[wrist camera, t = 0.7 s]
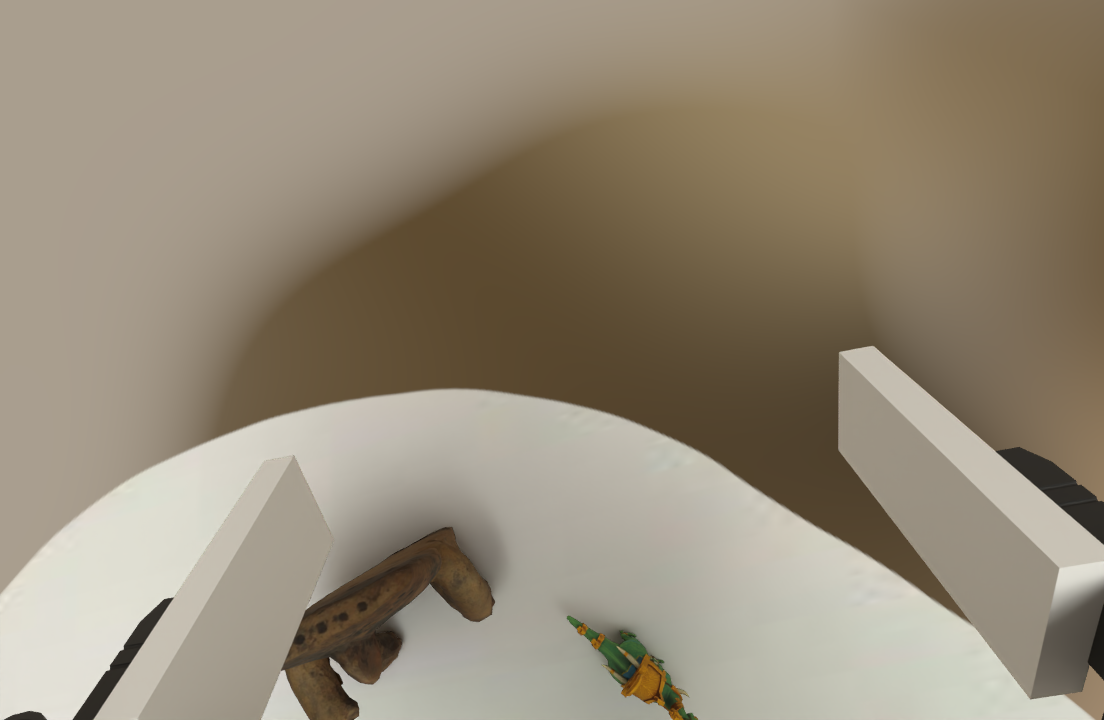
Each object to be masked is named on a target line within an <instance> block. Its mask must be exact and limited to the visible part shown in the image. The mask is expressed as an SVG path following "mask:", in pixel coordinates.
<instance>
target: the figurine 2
mask: <svg viewBox="0 0 1104 720" xmlns="http://www.w3.org/2000/svg"><path fill="white" fill-rule="evenodd" d="M567 619H568V620H569V622H570V623H571V624H572V625H573V626H574V627H575V628H576V629H577V631H578V633H579V634H580V635H584V636H585V637H586V638H587V639H588V640H589V641H590V642H591V643H592V646H593V647H594V648H595V649H598V650H599V651H600V652H601V653H602V654H603V655H604V656H605V657H606V659H607V660H608V666H607V665H602V666H603V667H605V668H606V669H607V670H608V671H609V672H610V674H611V675H612V676H613V678H614V679H615V680H616V681H617V682H618V683H619V684H622V685H621V687H623V690H622V692H621V694H622V695H624V696H625V697H627V696H631V695H632V694H633V695H635V696H636V697H638V698H640V699H641V700H642V701H644V702H645V703H647V704H650V703H652V702H656V703H658V705H661V706H663V707H664V708H665V709H667V710H668V711H669V715H670V717H671V718H672V719H673V720H698V718H697V717H695V716H694V715H693V713H687V714H686V712H685V710H684V706H683V704H682V700H683V699H682V697H681V695H680V694H684V695H686V696H688V694H687V693H686V692H685V691H684V690H681V689H678V688H676V687H675V686H674V685H672V683H671V678H670V675H669V674H668V673H667V672H666V671H665V670H663V668H662V666H661V665H660V664H659V662H660V663H664V661H663V660H657V659H656V658H655V657H653V656H652V655H650V656H649V655H648V653H647V651H646V649H645V647H644V646H643V645H642V644H641V643H640V642H639V641H638V640H637V639H635V638H633V637H636V635H635V634H632V633H625V632H623V631H622V630H621V631H620V633H621V637H622V638H623V639H624V642H622V643H621V644H617V643H614V642H612V641H610V640H609V639H607V638H606V637H605V635H603V634H601V633H600V634H599V633H597V632H595V631H593V630H591V629H590V628H588V627H587V625H585V624H584V623H580V622H579V621H577V620H576V619H574V618H572V617H571V616H567ZM631 636H633V637H631ZM688 697H689V696H688Z"/></svg>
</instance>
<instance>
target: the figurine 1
mask: <svg viewBox="0 0 1104 720" xmlns="http://www.w3.org/2000/svg"><path fill="white" fill-rule="evenodd" d="M429 583H430V584H431V585H432V587H433V588H434V589H435V590H436V591H437V592H438V593H439V594H440V595H441V596H442V597H443V598H444V599H445V601H446V602H447V603H448V604H449V605H450V606H451V607H453V608H454V609H456V610H457V611H459V612H460V613H461V614H462V615H463V617H465V618H467V619H468V620H470V621H474V622H480V621H482V620H483V619H485V618H487V617H488V616H490V615H492V607H493V605H494V604H495V600H494V598H493V597H492V595H491V589H490V587H489V585H488V583H487V581H485V580H483V578H482V577H481V576H480V575H479V574H478V572H477V570H476V569H475V567H474V566H473V564H472V563H471V561H470V560H469V559H468V558H467V557H466V556H465V555H464V554H463V553H462V552H461V551H460V550H459V548H458V545H457V543H456V541H455V534H454V532H453V529H452V527H448V528H447V527H445V528H442V529H440V530H438V531H435V532H433V533H431V534H429V535H427V536H426V537H424V538H422V539H420V540H419V541H417V542H415V543H413V544H412V545H410V546H408V547H406V548H404V549H402V550H400V551H398V552H396V553H394V554H393V555H391V556H390V557H388V558H387V559H385V560H384V561H383V562H381V563H380V564H378V565H377V566H375V567H374V568H372V569H370V570H368V571H367V572H365V573H364V574H362V575H360V576H358V577H357V578H355V579H353V580H352V581H350V582H348V583H347V584H345V585H343V586H341V587H340V588H338V589H337V590H335V591H334V592H332V593H330V594H329V595H327V596H325V597H324V598H323V599H321V600H320V601H318V602H317V603H315V604H313V605H312V606H311V607H309V608H308V609H307V610H305V613H304V615H303V618H302V620H301V623H300V625H299V627H298V630H297V632H296V635H295V637H294V640H293V642H292V645H291V647H290V649H289V652H288V654H287V657H286V659H285V662H284V664H283V667H282V669H281V671H282V670H285V672H286V675H287V679H288V681H289V683H290V686H291V689H292V690H293V692H294V694H295V696H296V697H297V699H298V701H299V702H300V704H301V706H302V708H303V709H304V711H305V713H306V714H307V716H308V718H309V719H310V720H354V719H355V718H357V717H358V716H359V707H358V703H357V702H356V701H355V700H353V699H351V698H350V697H349V696H348V695H347V694H346V692H345V691H344V689H343V688H342V686H341V685H342V684H343V681H342V679H341V677H340V675H339V674H338V673H336V672H335V671H334V670H333V668H332V667H331V666H330V659H329V657H331V658H332V659H333V660H335V661H336V662H338V663H339V664H340V666H341V667H342V668H343V669H344V671H345V672H346V673H347V674H348V675H349V676H351V677H352V678H354V679H355V680H357V681H358V682H360V683H364V684H374V683H375V682H376V681H377V680H378V679H379V677H380V674H381V672H383V671H384V670H385V669H386V668H387V667H388V666H389V665H390V664H391V663H392V662H393V660H395V659H396V658H397V657H398V653H399V651H400V649H401V645H402V642H401V639H400V638H397V636H396V635H395V634H394V633H393V632H392V631H390V632H382V633H377V634H375V632H376V629H377V628H378V627H379V626H381V625H382V624H383V623H384V622H385V621H387V620H388V619H389V618H390V617H391V616H393V615H394V614H395V613H396V612H398V611H399V610H401V609H402V608H403V607H405V606H406V605H408V604H409V603H410V602H411V601H413V600H414V599H415V598H416V597H417V596H418V595H419V594H420V593H421V592H422V591H423V590H424V589H425V588H426V587H427V586H428V585H429Z"/></svg>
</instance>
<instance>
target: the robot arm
mask: <svg viewBox="0 0 1104 720" xmlns="http://www.w3.org/2000/svg"><path fill="white" fill-rule="evenodd" d="M839 451H840V452H841V454H842V455H843V456H844V457H845V459H846V460H847V462H848V463H849V464H850V465H851V467H852V468H853V469H854V471H855V472H856V473H857V475H858V476H859V477H860V478H861V480H862V481H863V482H864V483H865V485H866V486H867V488H868V489H869V490H870V491H871V493H872V494H873V495H874V497H875V498H876V499H877V501H878V502H879V503H880V504H881V506H882V507H883V508H884V510H885V511H886V512H887V514H888V515H889V516H890V517H891V519H892V520H893V521H894V522H895V524H896V525H897V527H898V528H899V529H900V530H901V532H902V533H903V534H904V536H905V537H906V538H907V539H908V541H909V542H910V543H911V544H912V546H913V547H914V548H915V550H916V551H917V553H918V554H919V555H920V556H921V558H922V559H923V560H924V562H925V563H926V564H927V566H928V567H929V568H930V569H931V571H932V572H933V573H934V575H935V576H936V577H937V579H938V580H939V581H940V583H941V584H942V585H943V586H944V588H945V589H946V590H947V592H948V593H949V594H950V596H951V597H952V598H953V599H954V601H955V602H956V603H957V605H958V606H959V607H960V609H961V610H962V611H963V612H964V614H965V615H966V616H967V617H968V619H969V620H970V622H971V623H972V624H973V625H974V627H975V628H976V629H977V631H978V632H979V633H980V635H981V636H982V637H983V638H984V640H985V641H986V642H987V644H988V645H989V646H990V648H991V649H992V650H993V651H994V653H995V654H996V655H997V657H998V658H999V659H1000V661H1001V662H1002V663H1003V664H1004V666H1005V667H1006V668H1007V670H1008V671H1009V672H1010V674H1011V675H1012V676H1013V677H1014V679H1015V680H1016V681H1017V683H1018V684H1019V685H1020V687H1021V688H1022V689H1023V690H1024V692H1025V693H1026V694H1027V696H1028V697H1029V698H1030V699H1036V698H1042V697H1049V696H1056V695H1062V694H1069V693H1076V692H1082V690H1083V687H1084V683H1085V680H1086V676H1087V672H1088V669H1089V665H1090V666H1091V667H1092V668H1093V669H1094V670H1095V671H1096V672H1097V673H1098V674H1099V676H1100V677H1102V679H1103V680H1104V502H1102V501H1098V500H1097V498H1096V496H1095V495H1093V494H1092V493H1091V492H1090V491H1088V490H1087V489H1086V488H1084V487H1083V486H1082V485H1077V483H1076V480H1074V479H1073V478H1072V477H1071V476H1069V475H1068V474H1067V473H1065V472H1064V471H1063V470H1062V469H1060V468H1059V467H1058V466H1057V465H1055V464H1054V463H1053V462H1051V461H1049V460H1047V459H1045V458H1043V457H1040V456H1038V455H1036V454H1034V453H1031V452H1029V451H1027V450H1025V449H1022V448H1020V447H1017V448H1012V449H1005V450H1000V451H994V450H993V449H992V448H991V447H989V446H988V445H987V444H986V443H985V442H984V441H983V440H981V439H980V438H979V437H978V436H977V435H976V434H974V433H973V432H972V431H971V430H970V429H969V428H968V427H966V426H965V425H964V424H963V423H962V422H961V421H959V420H958V419H957V418H956V417H955V416H954V415H952V414H951V413H950V412H949V411H948V410H947V409H945V408H944V407H943V406H942V405H941V404H939V403H938V402H937V401H936V400H935V399H934V398H933V397H932V396H930V395H929V394H928V393H927V392H926V391H925V390H923V389H922V388H921V387H920V386H919V385H918V384H917V383H915V382H914V381H913V380H912V379H910V378H909V377H908V376H907V375H906V374H905V373H904V372H903V371H901V370H900V369H899V368H898V367H897V366H896V365H894V364H893V363H892V362H891V361H890V360H889V359H887V358H886V357H885V356H884V355H883V354H882V353H881V352H879V351H878V350H877V349H876V348H875V347H874V346H870V347H865V348H859V349H854V350H849V351H844V352H839ZM333 542H334V538H333V536H332V534H331V532H330V530H329V528H328V526H327V524H326V522H325V520H324V517H323V515H322V513H321V511H320V509H319V507H318V505H317V503H316V501H315V498H314V496H313V494H312V492H311V490H310V488H309V486H308V484H307V482H306V479H305V477H304V475H303V473H302V471H301V469H300V467H299V465H298V463H297V460H296V458H295V456H294V455H293V456H288V457H283V458H278V459H272V460H267V461H264V462H263V464H262V465H261V467H260V468H259V470H258V471H257V473H256V474H255V476H254V477H253V479H252V480H251V482H250V483H249V485H248V486H247V488H246V489H245V491H244V492H243V494H242V495H241V497H240V498H239V500H238V501H237V503H236V504H235V506H234V508H233V509H232V511H231V512H230V514H229V515H228V517H227V518H226V520H225V521H224V523H223V524H222V526H221V527H220V529H219V530H218V532H217V533H216V535H215V536H214V538H213V539H212V541H211V542H210V544H209V545H208V547H207V548H206V550H205V551H204V553H203V554H202V556H201V558H200V559H199V561H198V562H197V564H196V565H195V567H194V568H193V570H192V571H191V573H190V574H189V576H188V577H187V579H186V580H185V582H184V583H183V585H182V586H181V588H180V589H179V591H178V592H177V594H176V595H175V597H173V598H168V599H164V600H163V601H162V602H161V603H160V604H159V605H158V606H157V607H155V608H154V609H153V610H152V611H151V612H150V613H149V614H148V615H147V616H146V617H145V618H144V619H143V620H142V621H141V622H140V623H139V624H138V626H137V627H136V629H135V630H134V632H133V633H132V635H131V636H130V637H129V639H128V640H127V642H126V643H125V645H124V650H122V651H120V652H119V653H118V655H117V656H116V658H115V659H114V661H113V662H112V663H111V665H110V670H109V671H106V672H105V674H104V675H103V677H102V678H101V679H100V681H99V682H98V684H97V685H96V687H95V688H94V690H93V691H92V692H91V694H90V695H89V697H88V698H87V700H86V701H85V703H84V704H83V705H82V707H81V708H80V710H79V711H78V713H77V714H76V716H75V717H74V718H73V720H261V718H262V715H263V713H264V711H265V708H266V706H267V703H268V701H269V698H270V696H271V693H272V691H273V689H274V686H275V684H276V681H277V679H278V676H279V674H280V671H281V669H282V667H283V664H284V662H285V659H286V657H287V654H288V652H289V649H290V647H291V645H292V642H293V640H294V637H295V635H296V632H297V630H298V627H299V625H300V623H301V620H302V618H303V615H304V613H305V610H306V608H307V605H308V603H309V601H310V598H311V596H312V593H313V591H314V588H315V586H316V583H317V581H318V579H319V576H320V574H321V571H322V569H323V566H324V564H325V561H326V559H327V557H328V554H329V552H330V549H331V547H332V544H333ZM4 720H47V719H46V718H45V717H44V716H43V715H42V714H41V713H39V712H33V711H27V712H23V713H20V714H16V715H12V716H10V717H8V718H6V719H4ZM1102 720H1104V714H1103V717H1102Z"/></svg>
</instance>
